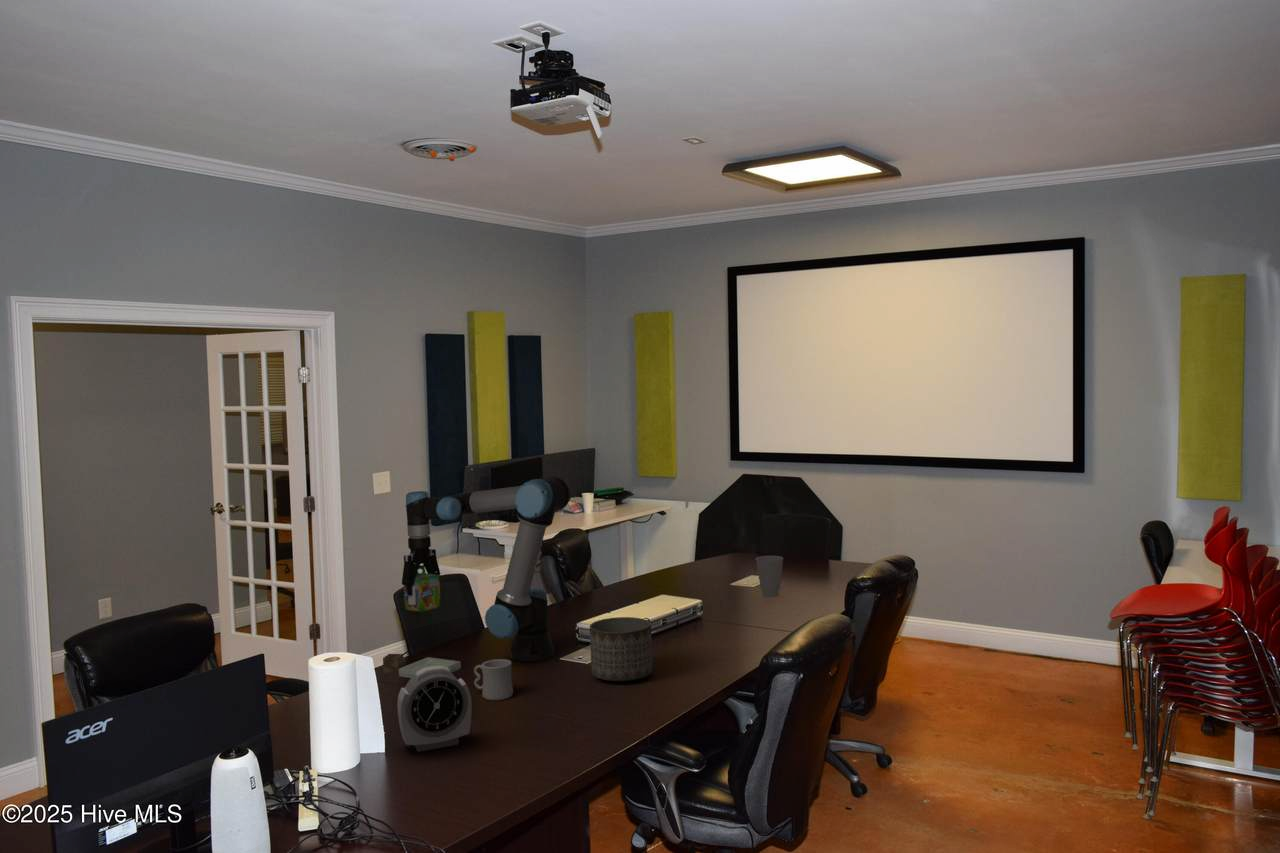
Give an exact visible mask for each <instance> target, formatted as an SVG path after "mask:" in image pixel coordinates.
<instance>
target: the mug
mask: <svg viewBox="0 0 1280 853" xmlns="http://www.w3.org/2000/svg"><path fill="white" fill-rule="evenodd" d="M512 664H513V663H512V660H509V659H505V658H503V659H501V658H498V659H497V658H496V659H495V658H494V659H490V660H487V661H484V662H482V663H481V664H477V665H476V666H475V667H474V668H473V674H474V675H475V676H476V678H474V681H473V685H474V686H475V687H476V689H478V690H482V692H481V694H482V698H484V699H485V700H488V701H502V700H507V699H509V698H511V697H512V696H513V693H514V689H513V687H514V686H513V683H512V682H513V681H512ZM478 669H481V671H482V677H481V674H480V673H479V672H478ZM481 678H482V684H481V685H480V684H479V683H478V682H479V681H480V679H481Z"/></svg>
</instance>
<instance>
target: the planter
mask: <svg viewBox="0 0 1280 853" xmlns="http://www.w3.org/2000/svg"><path fill="white" fill-rule="evenodd" d="M652 637H653V636H652V623H651V621H649V620H648V619H644V618H640V617H634V616H633V617H629V616H623V617H622V616H620V617H609V618H603V619H600V620H596V621H594V622H592V623H591V624H590V625H589V638H590V639H589V642H590V644H589V645H590V667H591V668H590V670H591V674H592V677H593V676H594V678H597V679H598V680H599V679H600V680H604V681H610V682H616V683H617V682H618V683H619V682H623V683H624V682H630V681H634V680H635V681H636V680H640V679H642V678H645V677H648V676H649V675H650V674H652V672H653V671H654V666H653V664H654V663H653V640H652Z"/></svg>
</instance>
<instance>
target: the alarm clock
mask: <svg viewBox="0 0 1280 853" xmlns="http://www.w3.org/2000/svg"><path fill="white" fill-rule="evenodd" d="M396 706H397V717H398V725H399V729H400V733H401V738H402V739H403V741H404V743H405V745H406V746H414V748H415V749H416V752H417V753H419V752H421V753H422V752H425V751H431V750H435V749H442V748H447V747H453V746H457V745H460V742H459V738H460V737H463V736H466V735H469V734H470V731H471V724H472V697H471V692H470V689H469V687H468V685H467V683H466V682H465V681H464V679H462V677H460V678H458V679H457V677H456V676H455V675H454V674H453V672H452V673H451V671H450V670H449V668H448V667H444V666H440V665H439V666H430V667H425V668H423V669H421V670H419V671H417V672H416V674H415V675H414V676H413V677H412V678H409V679H408V682H407V683H406V685H405V686H404V687H401V688H400V690H399V693H398V695H397V705H396Z"/></svg>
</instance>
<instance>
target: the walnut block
mask: <svg viewBox="0 0 1280 853" xmlns="http://www.w3.org/2000/svg"><path fill="white" fill-rule="evenodd" d="M404 662H405V657H404V653H388V654H386V655H385V656H384V657H383V658H382V666H384V667H383V668H382V669H383V674H399V668H402V667H404V666H405V663H404Z"/></svg>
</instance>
